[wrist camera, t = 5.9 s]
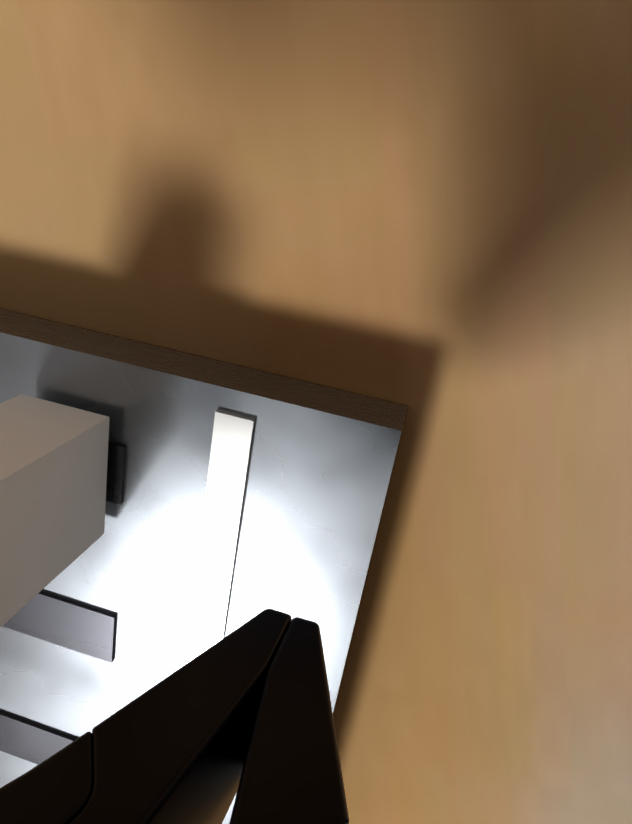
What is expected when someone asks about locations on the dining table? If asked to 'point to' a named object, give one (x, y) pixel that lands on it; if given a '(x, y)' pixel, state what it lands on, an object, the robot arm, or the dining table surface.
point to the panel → (186, 523)
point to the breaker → (47, 493)
